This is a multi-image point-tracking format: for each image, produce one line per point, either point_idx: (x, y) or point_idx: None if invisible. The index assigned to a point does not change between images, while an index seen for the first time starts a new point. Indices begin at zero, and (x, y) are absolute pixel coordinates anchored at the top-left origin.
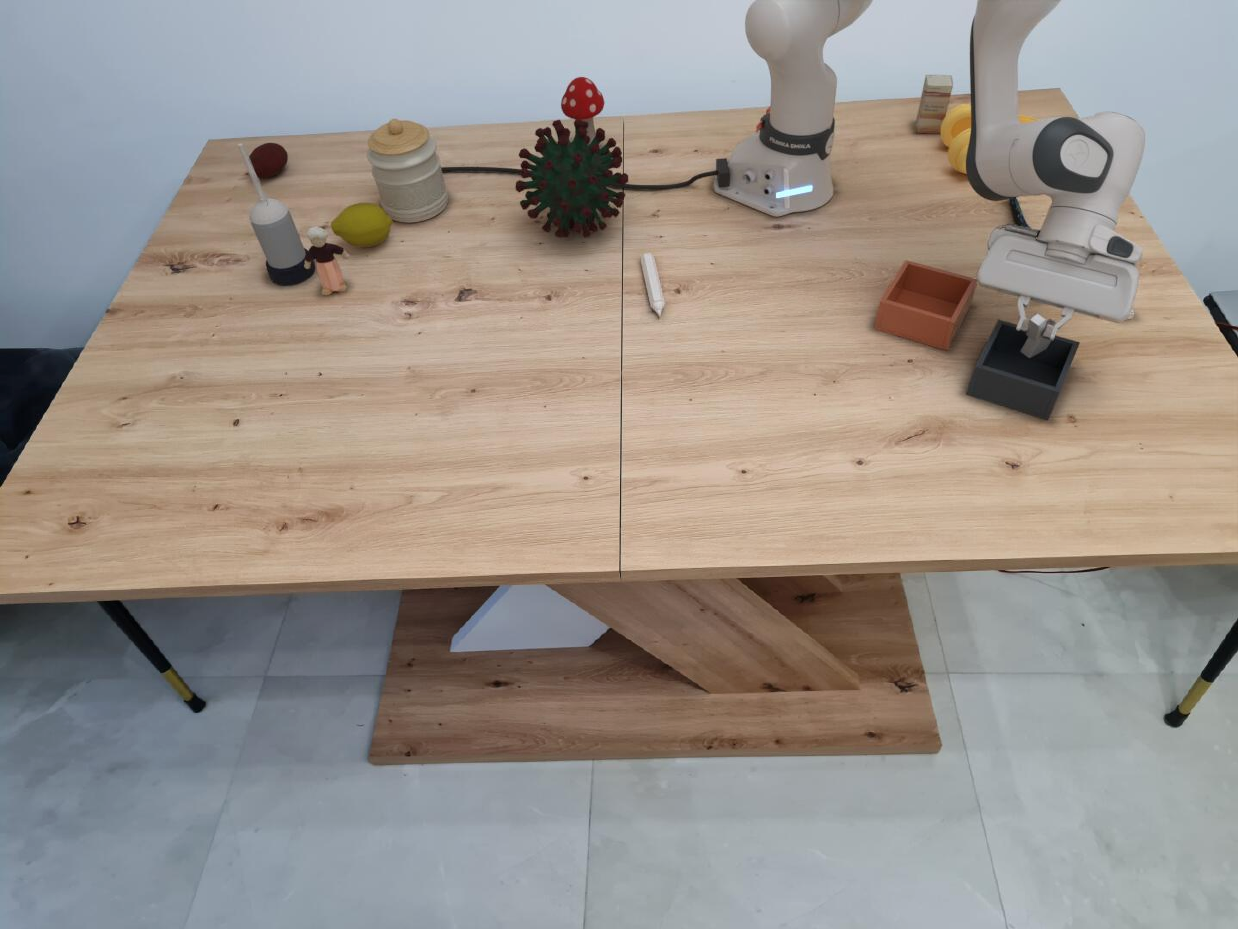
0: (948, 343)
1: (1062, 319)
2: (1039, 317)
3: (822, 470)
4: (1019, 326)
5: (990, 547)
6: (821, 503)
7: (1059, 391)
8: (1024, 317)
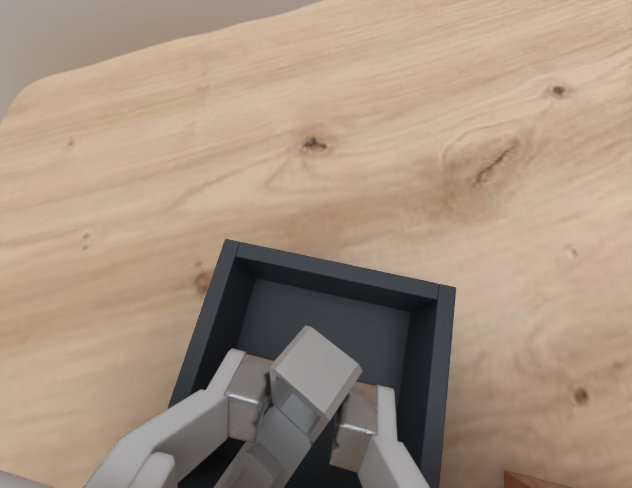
0: (521, 480)
1: (176, 424)
2: (309, 381)
3: (607, 63)
4: (383, 392)
5: (335, 9)
6: (577, 14)
7: (225, 240)
8: (377, 436)
